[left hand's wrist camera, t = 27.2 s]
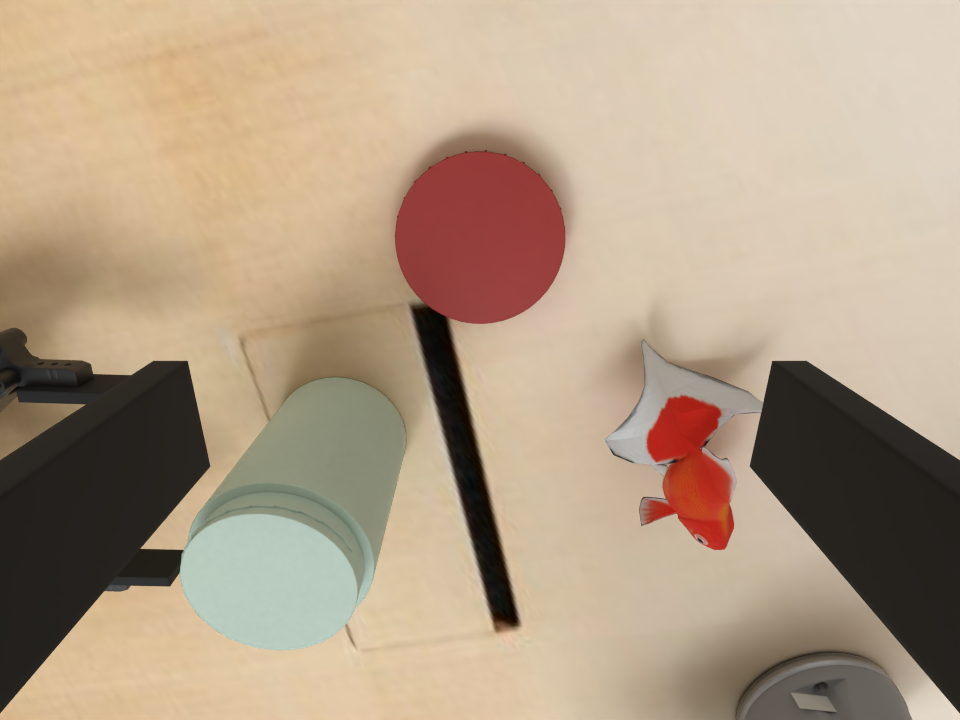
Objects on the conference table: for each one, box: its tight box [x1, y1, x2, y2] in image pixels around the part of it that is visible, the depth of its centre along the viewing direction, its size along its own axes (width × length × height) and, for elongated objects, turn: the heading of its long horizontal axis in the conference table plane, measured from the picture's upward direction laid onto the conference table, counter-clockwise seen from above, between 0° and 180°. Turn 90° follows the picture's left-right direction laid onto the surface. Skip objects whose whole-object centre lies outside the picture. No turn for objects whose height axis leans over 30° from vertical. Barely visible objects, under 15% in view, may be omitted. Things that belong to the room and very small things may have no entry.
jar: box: [180, 377, 406, 650], centre depth 35 cm, size 10×10×16 cm
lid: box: [395, 150, 565, 324], centre depth 36 cm, size 11×11×2 cm
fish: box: [605, 339, 763, 550], centre depth 38 cm, size 11×16×10 cm
